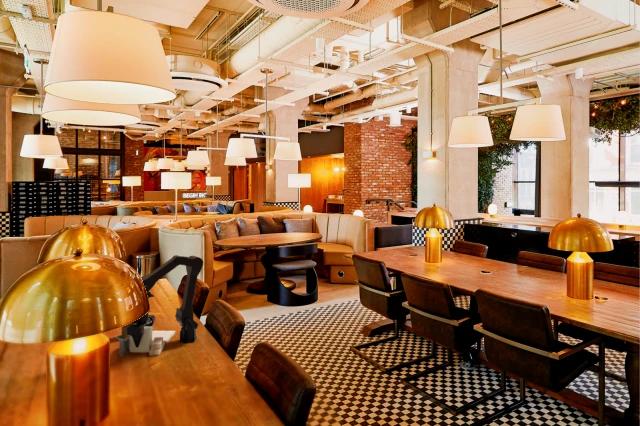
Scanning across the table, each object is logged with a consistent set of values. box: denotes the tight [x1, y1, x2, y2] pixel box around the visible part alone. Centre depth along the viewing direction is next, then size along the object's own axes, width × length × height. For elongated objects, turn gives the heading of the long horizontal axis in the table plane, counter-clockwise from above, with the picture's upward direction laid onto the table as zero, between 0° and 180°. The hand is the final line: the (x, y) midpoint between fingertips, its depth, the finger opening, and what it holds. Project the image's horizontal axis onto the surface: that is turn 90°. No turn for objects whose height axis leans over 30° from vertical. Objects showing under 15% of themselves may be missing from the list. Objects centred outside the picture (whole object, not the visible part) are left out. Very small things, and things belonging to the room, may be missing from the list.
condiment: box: [114, 323, 137, 341], centre depth 198 cm, size 7×8×12 cm
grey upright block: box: [129, 326, 153, 353], centre depth 182 cm, size 8×4×10 cm, turn 93°
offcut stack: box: [148, 337, 166, 356], centre depth 182 cm, size 4×10×5 cm, turn 8°
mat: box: [152, 330, 177, 343], centre depth 199 cm, size 14×14×1 cm
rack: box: [118, 335, 130, 358], centre depth 182 cm, size 2×14×7 cm, turn 3°
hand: (141, 343), depth 182 cm, fingers open, 9 cm apart
